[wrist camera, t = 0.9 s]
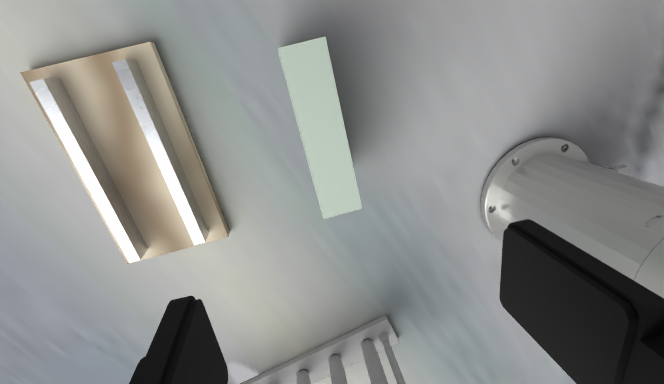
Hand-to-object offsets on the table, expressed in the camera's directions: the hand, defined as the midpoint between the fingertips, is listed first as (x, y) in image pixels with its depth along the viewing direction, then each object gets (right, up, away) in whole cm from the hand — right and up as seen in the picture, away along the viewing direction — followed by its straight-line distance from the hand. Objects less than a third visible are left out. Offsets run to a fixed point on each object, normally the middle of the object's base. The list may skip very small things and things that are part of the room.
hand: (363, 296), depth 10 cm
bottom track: (-18, +6, +20) cm, 28 cm away
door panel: (-3, +10, +21) cm, 23 cm away
